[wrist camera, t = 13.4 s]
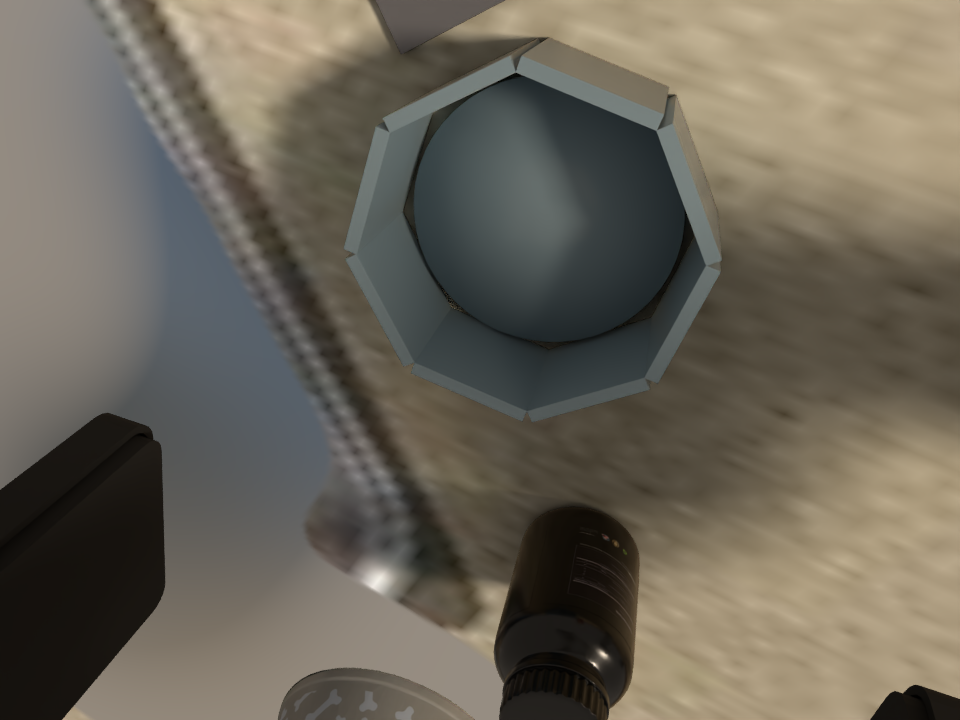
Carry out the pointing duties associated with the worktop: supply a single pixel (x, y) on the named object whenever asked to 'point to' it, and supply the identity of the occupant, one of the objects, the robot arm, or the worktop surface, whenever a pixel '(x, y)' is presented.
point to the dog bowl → (365, 698)
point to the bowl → (536, 232)
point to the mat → (427, 18)
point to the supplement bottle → (569, 618)
